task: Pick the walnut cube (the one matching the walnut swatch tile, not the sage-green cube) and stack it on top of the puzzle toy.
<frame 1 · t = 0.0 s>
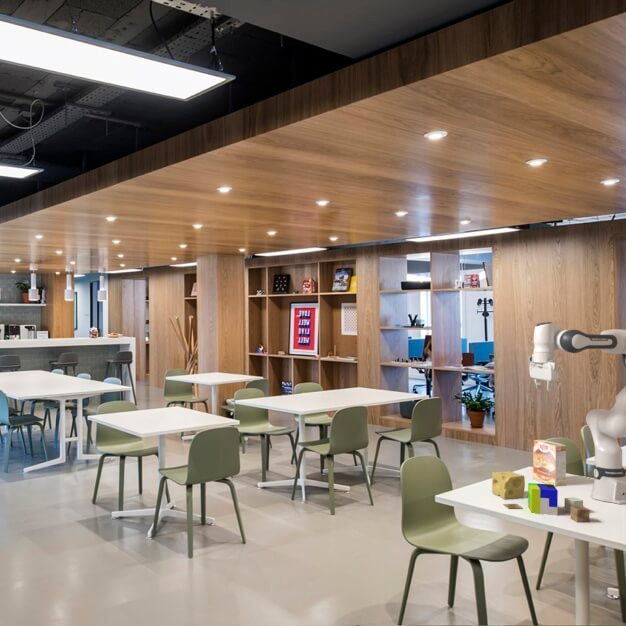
hand: (543, 390, 277), 48 cm above the table, fingers open, 8 cm apart
puzzle toy: (542, 511, 258), on the table
coffeecake box: (549, 482, 307), on the table
cheese: (507, 496, 281), on the table
walnut block: (579, 520, 246), on the table
sage block: (573, 511, 259), on the table
swatch tile: (513, 506, 263), on the table
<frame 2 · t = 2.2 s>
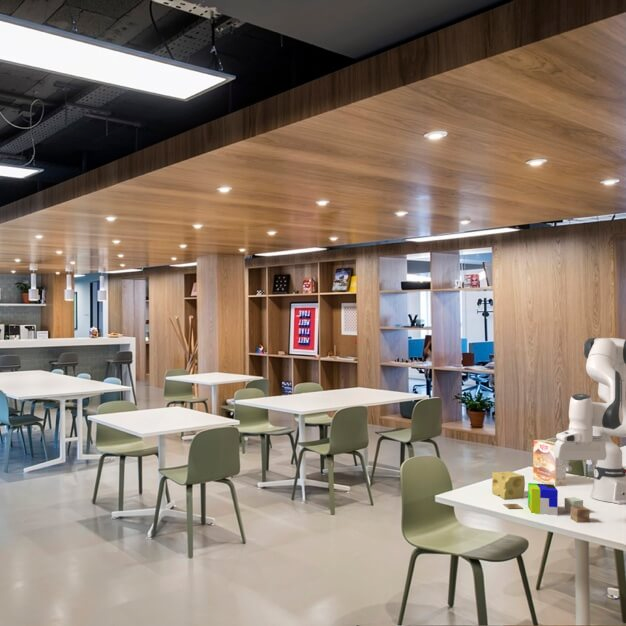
hand: (580, 471, 247), 19 cm above the table, fingers open, 8 cm apart
nothing on the table moved.
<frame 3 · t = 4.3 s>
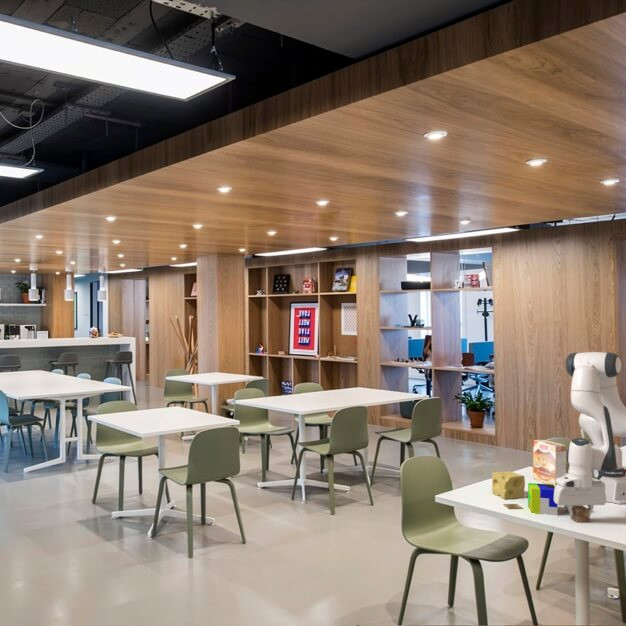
hand: (579, 516, 246), 2 cm above the table, fingers closed on walnut block, 5 cm apart
walnut block: (579, 520, 246), on the table, touching gripper
everything else where it was.
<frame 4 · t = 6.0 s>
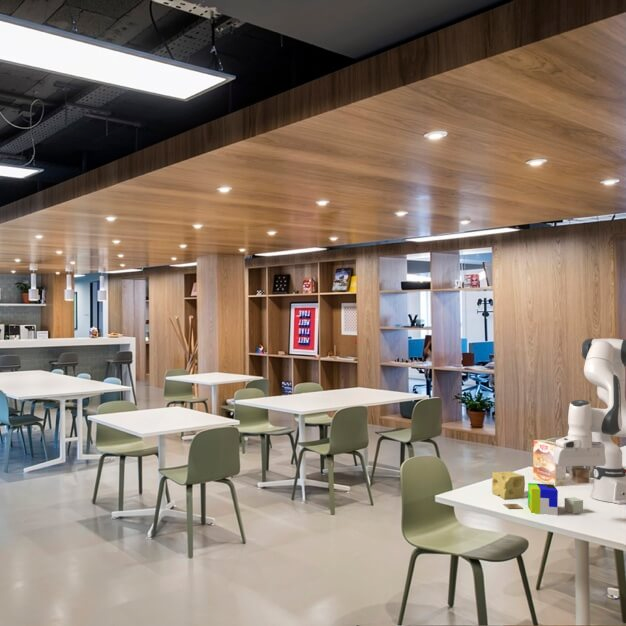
hand: (579, 477, 247), 17 cm above the table, fingers closed on walnut block, 5 cm apart
walnut block: (579, 481, 247), point 15 cm above the table, touching gripper
everything else where it was.
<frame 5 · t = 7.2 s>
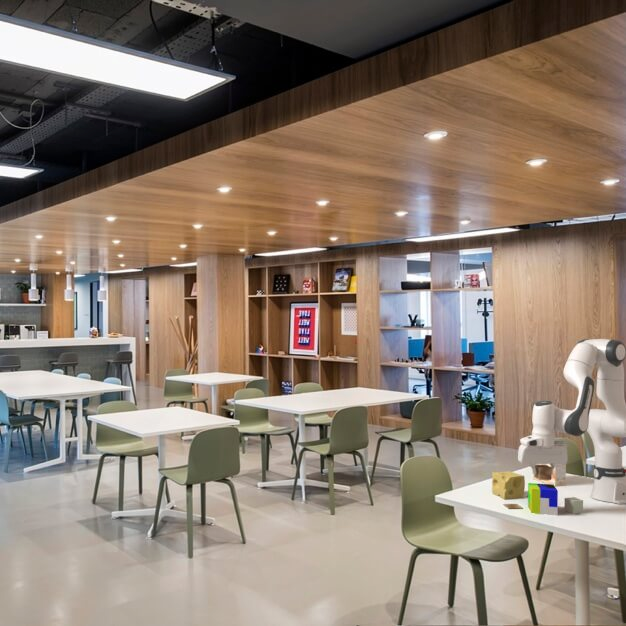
hand: (542, 474, 258), 15 cm above the table, fingers closed on walnut block, 5 cm apart
walnut block: (542, 478, 258), point 13 cm above the table, touching gripper
everything else where it was.
when the fingers open (13 cm above the table, at t = 7.9 s): walnut block drops 1 cm, resting on puzzle toy.
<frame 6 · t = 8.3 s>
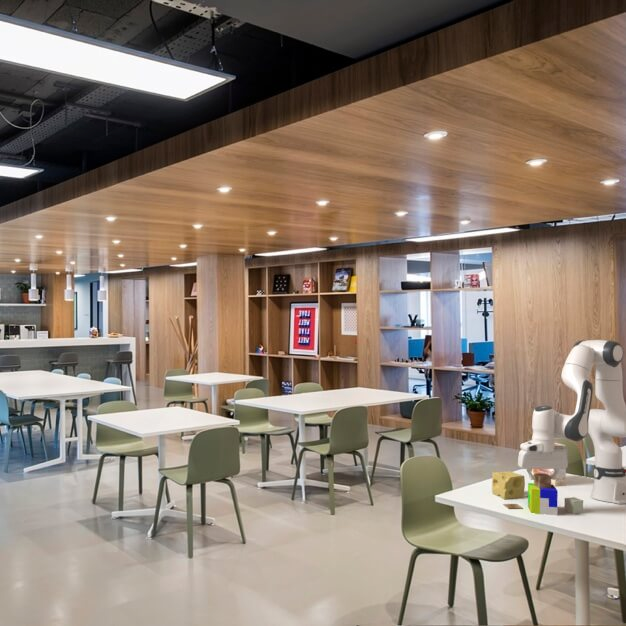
hand: (542, 479, 258), 13 cm above the table, fingers open, 8 cm apart
puzzle toy: (542, 511, 258), on the table, touching walnut block
walnut block: (542, 486, 258), point 10 cm above the table, touching puzzle toy
everything else where it was.
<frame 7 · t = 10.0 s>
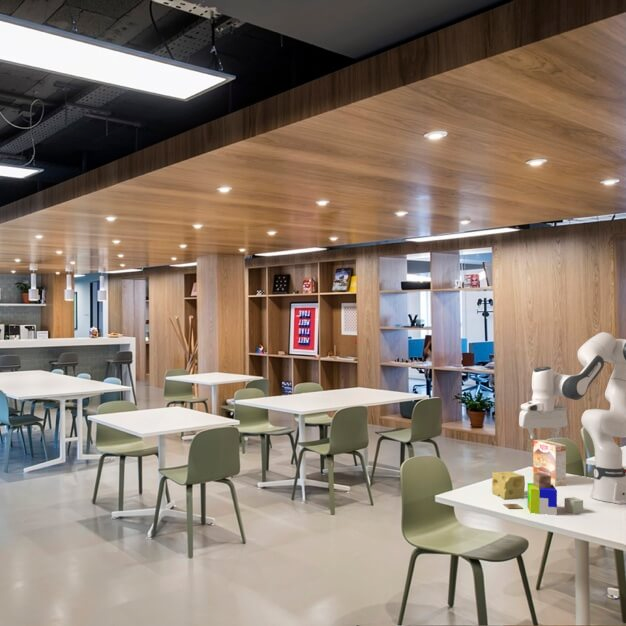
hand: (543, 438, 265), 29 cm above the table, fingers open, 8 cm apart
nothing on the table moved.
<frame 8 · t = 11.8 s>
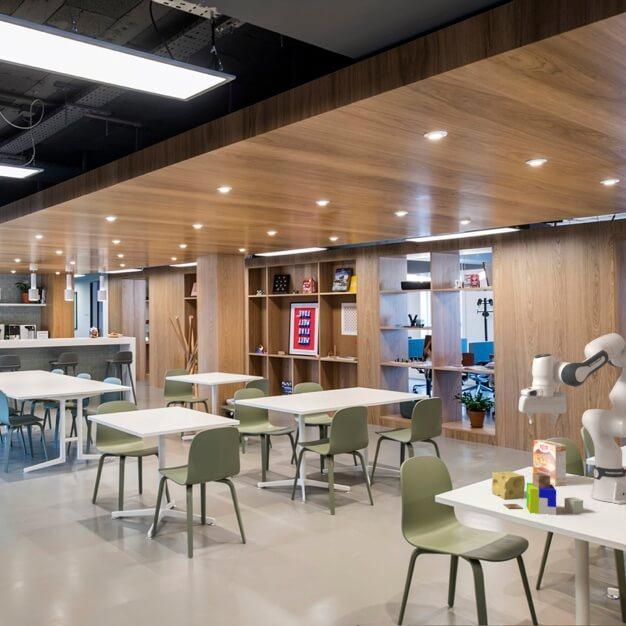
hand: (542, 423, 270), 34 cm above the table, fingers open, 8 cm apart
nothing on the table moved.
at the end: walnut block 0.1 cm from the puzzle toy (horizontally); walnut block point 9.9 cm above the table; walnut block tilted 0° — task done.
